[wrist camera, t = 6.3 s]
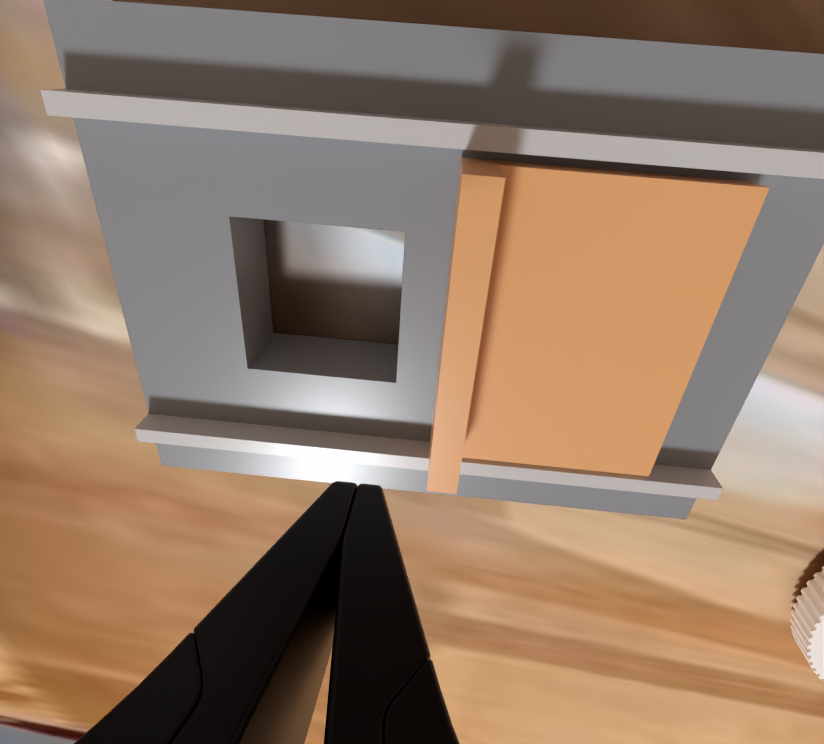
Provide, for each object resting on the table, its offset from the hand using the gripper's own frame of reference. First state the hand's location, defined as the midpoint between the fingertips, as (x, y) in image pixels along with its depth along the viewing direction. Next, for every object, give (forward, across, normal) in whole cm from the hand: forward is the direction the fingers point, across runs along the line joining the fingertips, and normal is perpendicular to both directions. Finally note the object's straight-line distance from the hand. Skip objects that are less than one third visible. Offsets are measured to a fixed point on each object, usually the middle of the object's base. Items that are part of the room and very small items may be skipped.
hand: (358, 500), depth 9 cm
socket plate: (+12, -1, 0) cm, 12 cm away
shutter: (+9, -5, 0) cm, 10 cm away
